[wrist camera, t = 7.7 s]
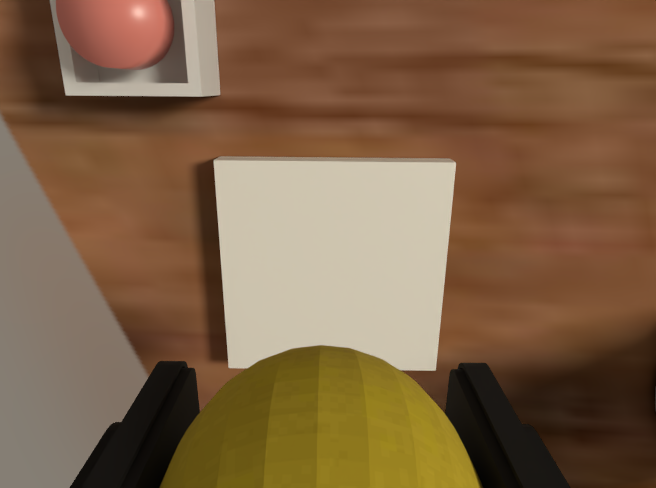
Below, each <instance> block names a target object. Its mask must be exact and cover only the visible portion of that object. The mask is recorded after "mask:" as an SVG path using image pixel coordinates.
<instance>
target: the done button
mask: <svg viewBox="0 0 656 488" xmlns="http://www.w3.org/2000/svg"><path fill="white" fill-rule="evenodd" d="M56 13H57V18H58V22H59V25H60V28H61V30H62V33H63V35H64V36H65V38H66V40H67V41H68V43H69V44H70V45H71V47H72V48H73V49H74V50H75V51H76V52H77V53H78V54H79V55H81V56H82V57H83V58H85V59H86V60H88V61H89V62H91V63H93V64H96V65H99V66H102V67H107V68H118V69H130V70H142V69H146V68H149V67H152V66H153V65H155V64H157V63H158V62H159V61H161V60H162V59H163V58H164V57H165V55H166V54H167V52H168V51H169V49H170V47H171V44H172V41H173V37H174V19H173V14H172V10H171V8H170V5H169V3H168V1H167V0H56Z"/></svg>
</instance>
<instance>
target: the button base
mask: <svg viewBox="0 0 656 488" xmlns="http://www.w3.org/2000/svg"><path fill="white" fill-rule="evenodd" d="M167 1H168V3H169V5H170V8H171V10H172V14H173V19H174V37H173V41H172V44H171V47H170V49H169V51H168V52H167V54H166V55H165V57H164V58H163V59H162V60H161V61H159V62H158V63H157V64H155V65H153V66H152V67H149V68H146V69H142V70H130V69H118V68H107V67H102V66H99V65H96V64H93V63H91V62H89V61H88V60H86V59H85V58H83V57H82V56H81V55H79V54H78V53H77V52H76V51H75V50H74V49H73V48H72V47H71V45H70V44H69V43H68V41H67V40H66V38H65V36H64V35H63V33H62V30H61V28H60V25H59V22H58V18H57V13H56V0H50V6H51V11H52V17H53V23H54V29H55V35H56V41H57V47H58V53H59V59H60V65H61V70H62V76H63V82H64V88H65V94H66V95H73V96H190V97H203V96H217V95H220V81H219V66H218V51H217V35H216V20H215V4H214V0H167Z"/></svg>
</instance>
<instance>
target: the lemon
mask: <svg viewBox="0 0 656 488" xmlns="http://www.w3.org/2000/svg"><path fill="white" fill-rule="evenodd" d="M159 488H483V486H482V483H481V481H480V479H479V476H478V474H477V472H476V470H475V468H474V465H473V463H472V461H471V459H470V457H469V455H468V453H467V451H466V449H465V447H464V445H463V443H462V441H461V439H460V437H459V435H458V434H457V432H456V430H455V428H454V426H453V425H452V423H451V422H450V420H449V419H448V417H447V416H446V414H445V413H444V412H443V411H442V410H441V409H440V408H439V406H438V405H437V404H436V403H435V402H434V401H433V400H432V399H431V398H430V396H429V395H428V394H427V393H426V392H425V391H424V390H423V389H422V388H421V387H420V386H419V385H418V383H417V382H416V381H414V380H413V379H412V378H411V377H409V376H408V375H407V374H405V373H403V372H402V371H400V370H399V369H397V368H395V367H394V366H392V365H391V364H389V363H387V362H386V361H384V360H383V359H380V358H378V357H375V356H372V355H369V354H366V353H363V352H360V351H357V350H354V349H351V348H345V347H335V346H325V345H317V346H309V347H300V348H292V349H290V350H287V351H284V352H281V353H279V354H276V355H273V356H270V357H268V358H265V359H262V360H259V361H258V362H256V363H255V364H253V365H252V366H250V367H249V368H247V369H246V370H244V371H243V372H241V373H240V374H238V375H237V376H235V377H234V378H232V379H231V380H230V381H228V382H227V383H226V384H225V385H224V386H223V387H222V388H221V389H220V390H219V391H218V392H217V394H216V395H215V396H214V397H213V398H212V399H211V400H210V402H209V403H208V404H207V405H206V406H205V407H204V408H203V410H202V411H201V412H200V413H199V414H198V415H197V416H196V418H195V419H194V421H193V422H192V423H191V425H190V426H189V428H188V429H187V430H186V432H185V434H184V436H183V437H182V439H181V441H180V443H179V444H178V446H177V449H176V451H175V453H174V455H173V457H172V460H171V462H170V464H169V466H168V469H167V471H166V473H165V476H164V478H163V480H162V483H161V485H160V487H159Z"/></svg>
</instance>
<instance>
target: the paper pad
mask: <svg viewBox="0 0 656 488" xmlns="http://www.w3.org/2000/svg"><path fill="white" fill-rule="evenodd" d="M455 169H456V162H454V161H453V160H451V159H442V158H336V157H229V156H220V157H218V158H216V159H215V160H214V173H215V187H216V201H217V215H218V228H219V242H220V256H221V270H222V283H223V297H224V311H225V324H226V338H227V352H228V366H229V368H249V367H250V366H252V365H253V364H255V363H256V362H258V361H259V360H262V359H265V358H268V357H270V356H273V355H276V354H279V353H281V352H284V351H287V350H290V349H292V348H300V347H309V346H317V345H325V346H335V347H345V348H351V349H354V350H357V351H360V352H363V353H366V354H369V355H372V356H375V357H378V358H380V359H383V360H384V361H386V362H387V363H389V364H391V365H392V366H394V367H395V368H397V369H399V370H428V371H436V362H437V352H438V342H439V332H440V321H441V311H442V301H443V291H444V281H445V271H446V260H447V250H448V240H449V230H450V220H451V210H452V199H453V189H454V179H455Z"/></svg>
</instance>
